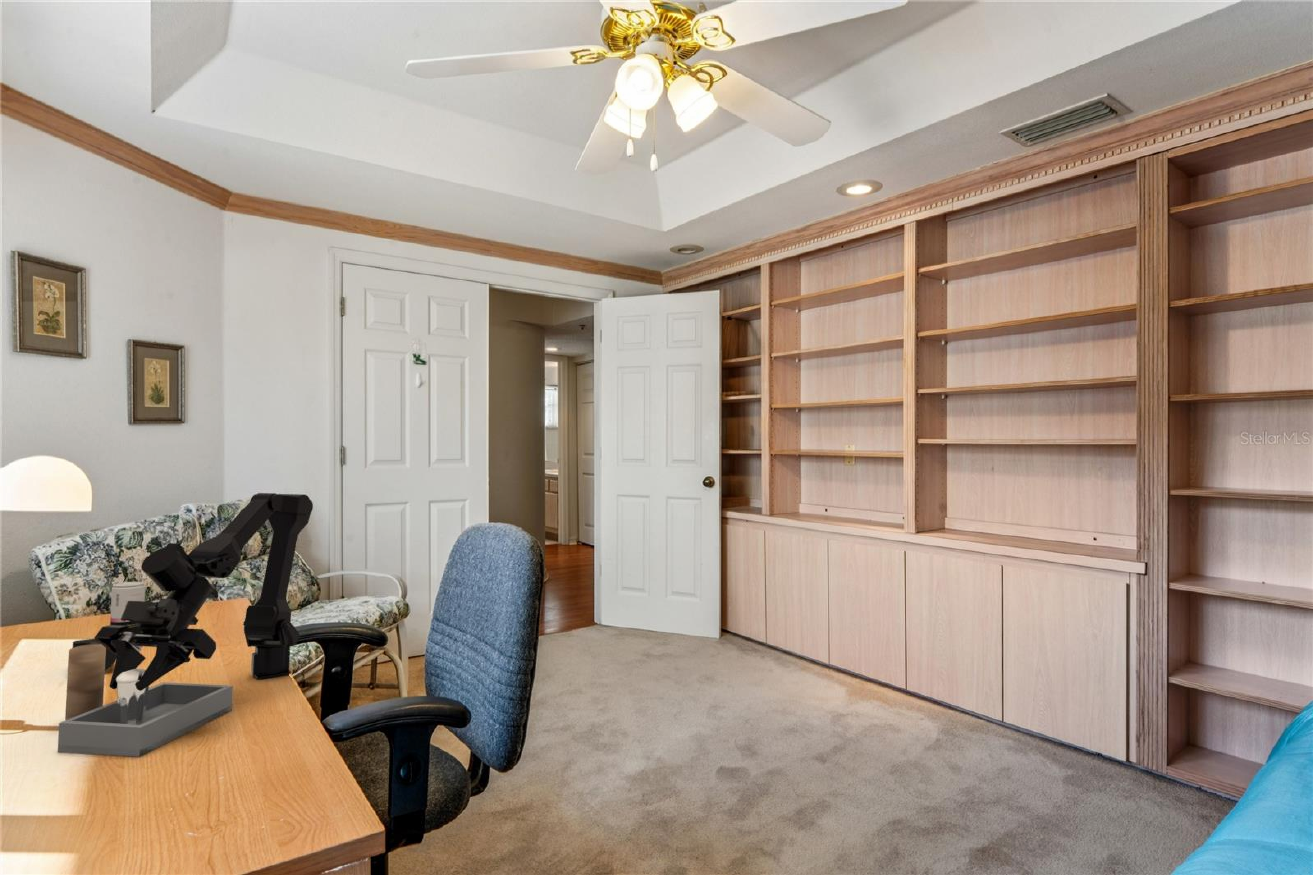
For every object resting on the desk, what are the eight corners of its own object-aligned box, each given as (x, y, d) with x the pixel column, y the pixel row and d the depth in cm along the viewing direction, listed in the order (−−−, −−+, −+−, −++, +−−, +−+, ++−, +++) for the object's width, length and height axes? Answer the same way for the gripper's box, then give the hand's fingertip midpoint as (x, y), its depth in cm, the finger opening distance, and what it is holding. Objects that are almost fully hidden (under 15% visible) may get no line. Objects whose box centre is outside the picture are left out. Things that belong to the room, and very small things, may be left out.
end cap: (116, 673, 144) (117, 641, 145) (72, 680, 140) (74, 647, 140) (112, 662, 152) (114, 632, 152) (71, 668, 147) (73, 637, 147)
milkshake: (121, 735, 107) (124, 672, 108) (109, 726, 110) (112, 665, 111) (154, 726, 111) (157, 665, 111) (142, 718, 114) (145, 659, 114)
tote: (162, 706, 125) (163, 682, 126) (231, 710, 124) (232, 685, 124) (57, 751, 106) (59, 722, 106) (139, 756, 104) (140, 727, 104)
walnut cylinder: (102, 715, 121) (106, 642, 121) (102, 723, 117) (106, 649, 117) (65, 721, 118) (69, 647, 118) (64, 730, 114) (68, 653, 114)
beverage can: (104, 645, 165) (107, 584, 166) (135, 639, 171) (138, 580, 172) (115, 649, 162) (118, 587, 163) (147, 643, 168) (150, 583, 168)
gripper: (106, 578, 116) (39, 661, 105) (206, 582, 114) (149, 667, 103) (143, 613, 124) (85, 694, 113) (237, 617, 122) (187, 700, 111)
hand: (125, 688), depth 110 cm, fingers closed on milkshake, 4 cm apart
